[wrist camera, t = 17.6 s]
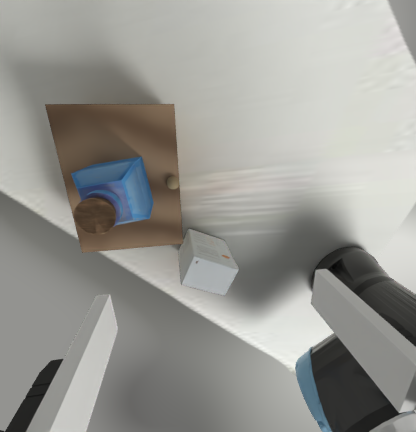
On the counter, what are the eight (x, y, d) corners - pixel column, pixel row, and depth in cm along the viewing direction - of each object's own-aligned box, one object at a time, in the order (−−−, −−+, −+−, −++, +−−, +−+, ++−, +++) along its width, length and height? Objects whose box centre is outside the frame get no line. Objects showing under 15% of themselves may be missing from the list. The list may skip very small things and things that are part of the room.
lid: (182, 240, 34) (183, 246, 32) (84, 249, 32) (80, 255, 31) (173, 105, 27) (174, 103, 26) (49, 105, 26) (41, 103, 24)
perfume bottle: (141, 156, 28) (122, 172, 17) (153, 202, 30) (143, 242, 19) (91, 164, 27) (38, 187, 16) (107, 211, 30) (70, 257, 19)
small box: (177, 251, 44) (179, 285, 34) (188, 227, 42) (193, 255, 33) (213, 262, 46) (224, 297, 36) (225, 239, 45) (240, 270, 35)
